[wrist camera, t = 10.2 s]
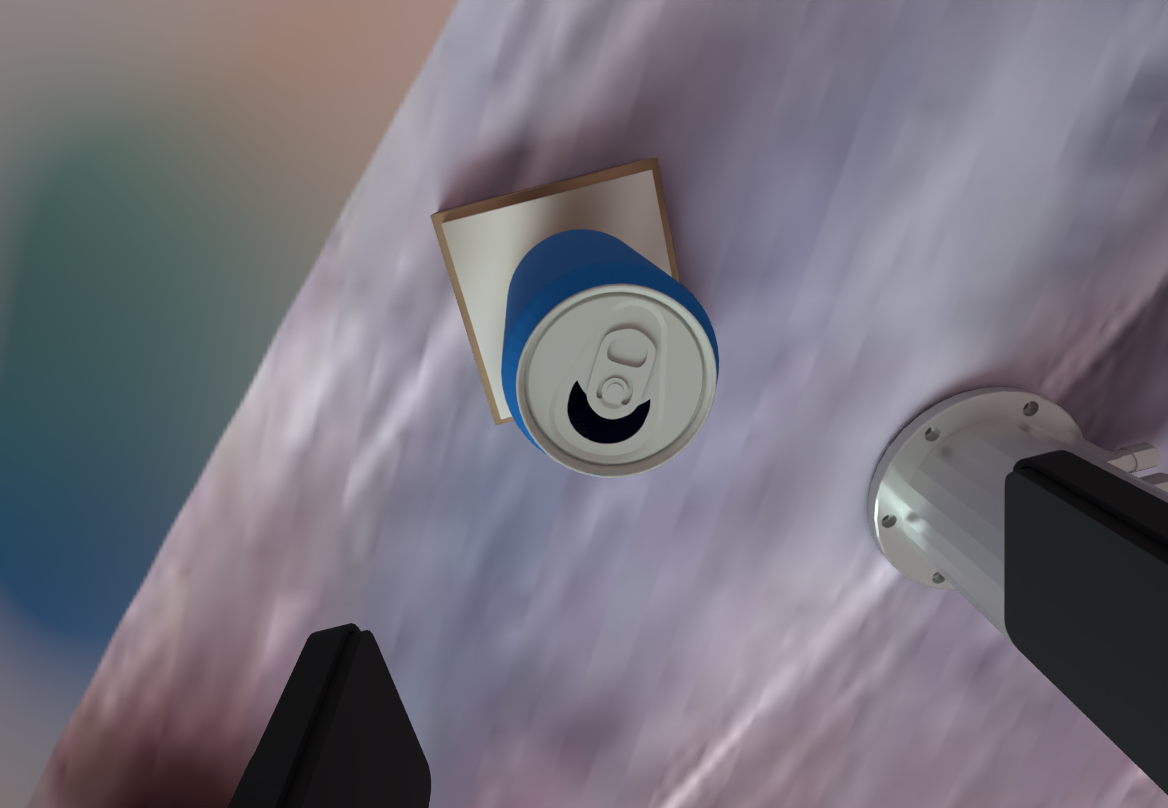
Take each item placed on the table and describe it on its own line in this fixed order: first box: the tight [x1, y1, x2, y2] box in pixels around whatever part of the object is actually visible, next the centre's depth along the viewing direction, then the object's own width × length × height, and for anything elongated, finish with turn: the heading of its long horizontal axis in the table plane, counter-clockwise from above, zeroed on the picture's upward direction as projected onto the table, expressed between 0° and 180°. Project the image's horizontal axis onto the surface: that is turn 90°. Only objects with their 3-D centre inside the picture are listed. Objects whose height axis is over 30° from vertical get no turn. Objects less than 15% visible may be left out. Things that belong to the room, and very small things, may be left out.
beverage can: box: [501, 229, 719, 478], centre depth 24 cm, size 6×6×12 cm
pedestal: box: [431, 158, 680, 425], centre depth 31 cm, size 10×10×3 cm
